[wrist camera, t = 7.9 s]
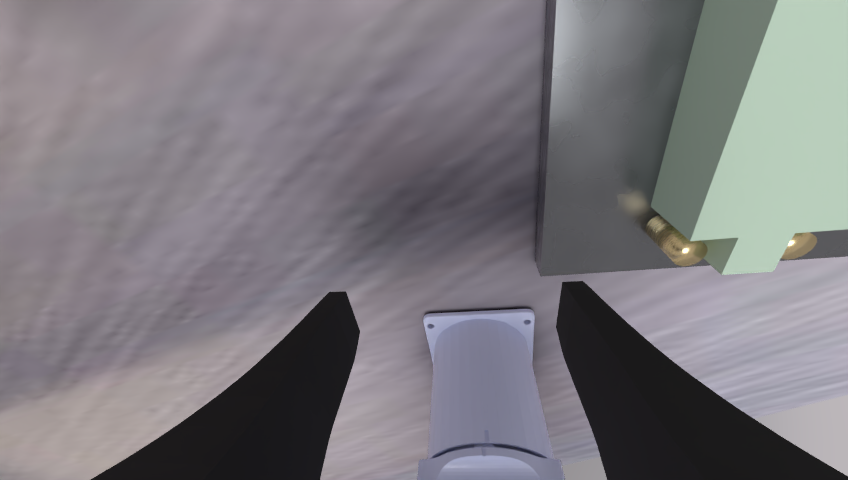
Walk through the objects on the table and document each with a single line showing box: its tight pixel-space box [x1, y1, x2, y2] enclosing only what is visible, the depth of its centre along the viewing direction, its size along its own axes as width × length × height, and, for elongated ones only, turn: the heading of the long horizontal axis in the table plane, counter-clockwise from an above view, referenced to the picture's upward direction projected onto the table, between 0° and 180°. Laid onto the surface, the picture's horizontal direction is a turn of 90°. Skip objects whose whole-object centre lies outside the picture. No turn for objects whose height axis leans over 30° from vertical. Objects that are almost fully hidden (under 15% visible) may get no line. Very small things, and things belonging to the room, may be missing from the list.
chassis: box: [535, 0, 848, 276], centre depth 12 cm, size 18×16×4 cm
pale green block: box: [651, 0, 848, 275], centre depth 11 cm, size 14×6×3 cm, turn 9°
